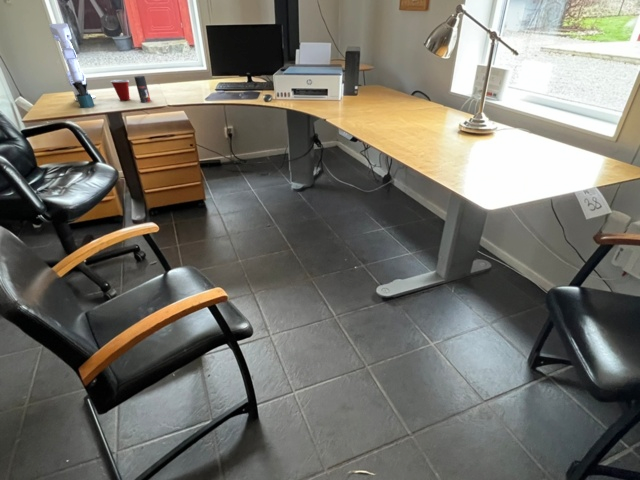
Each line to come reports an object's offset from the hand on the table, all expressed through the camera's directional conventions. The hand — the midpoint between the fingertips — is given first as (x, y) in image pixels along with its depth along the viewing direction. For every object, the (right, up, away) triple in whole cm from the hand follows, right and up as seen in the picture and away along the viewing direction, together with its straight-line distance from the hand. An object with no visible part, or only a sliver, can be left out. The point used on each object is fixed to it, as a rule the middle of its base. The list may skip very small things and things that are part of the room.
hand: (83, 95), depth 234 cm
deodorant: (+33, 0, +11) cm, 35 cm away
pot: (0, -5, +4) cm, 6 cm away
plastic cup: (+17, +3, +17) cm, 24 cm away
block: (0, -1, +1) cm, 1 cm away
